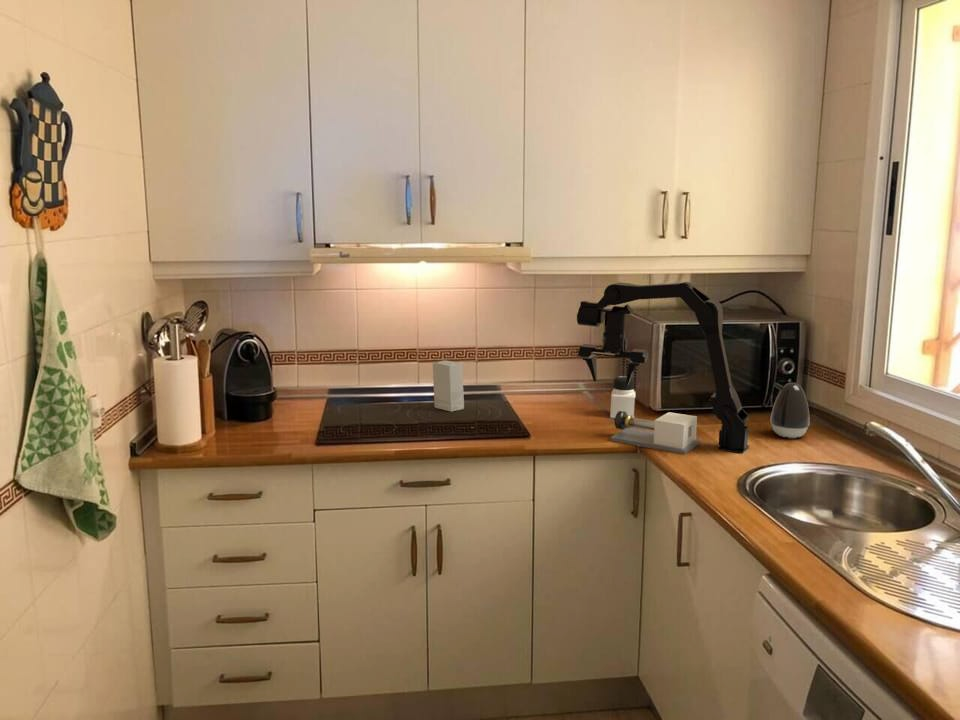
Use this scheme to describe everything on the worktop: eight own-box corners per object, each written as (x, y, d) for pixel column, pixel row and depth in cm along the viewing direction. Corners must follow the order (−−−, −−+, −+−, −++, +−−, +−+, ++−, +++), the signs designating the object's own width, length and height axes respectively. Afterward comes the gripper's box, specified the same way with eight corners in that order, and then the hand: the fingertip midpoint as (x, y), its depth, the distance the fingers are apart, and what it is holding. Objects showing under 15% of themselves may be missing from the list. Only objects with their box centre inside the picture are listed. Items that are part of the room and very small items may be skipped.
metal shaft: (674, 435, 217) (675, 417, 216) (668, 439, 213) (669, 421, 212) (621, 426, 226) (622, 409, 225) (614, 430, 222) (615, 412, 221)
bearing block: (700, 443, 217) (701, 416, 216) (684, 454, 208) (686, 426, 206) (628, 430, 229) (629, 405, 227) (610, 440, 219) (611, 414, 218)
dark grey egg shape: (778, 428, 232) (782, 377, 229) (814, 435, 224) (819, 382, 222) (762, 435, 225) (766, 382, 222) (798, 443, 217) (803, 388, 214)
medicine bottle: (634, 419, 240) (635, 380, 238) (610, 418, 242) (611, 379, 240) (634, 413, 247) (636, 375, 245) (611, 412, 249) (612, 374, 246)
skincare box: (464, 409, 252) (464, 362, 249) (450, 412, 248) (450, 365, 245) (446, 404, 258) (446, 359, 255) (432, 407, 254) (432, 361, 251)
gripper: (653, 327, 225) (649, 381, 229) (589, 321, 232) (586, 374, 235) (646, 333, 215) (642, 389, 218) (578, 327, 222) (575, 381, 225)
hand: (611, 383), depth 225 cm, fingers open, 9 cm apart
